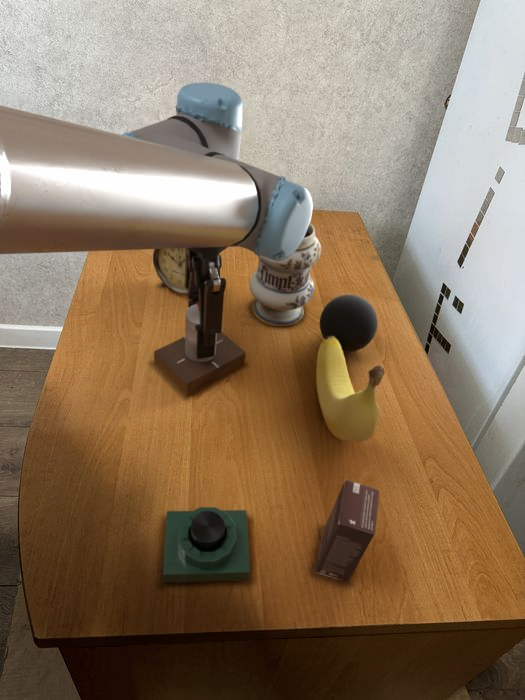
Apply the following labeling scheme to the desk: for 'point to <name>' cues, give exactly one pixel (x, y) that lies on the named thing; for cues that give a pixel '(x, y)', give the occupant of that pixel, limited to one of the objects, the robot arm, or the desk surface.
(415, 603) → the desk surface
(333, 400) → the banana
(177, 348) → the dial panel
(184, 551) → the button box
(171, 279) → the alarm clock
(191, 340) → the dial
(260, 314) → the apothecary jar
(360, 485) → the box
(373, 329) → the decorative ball
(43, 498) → the desk surface
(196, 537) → the button
